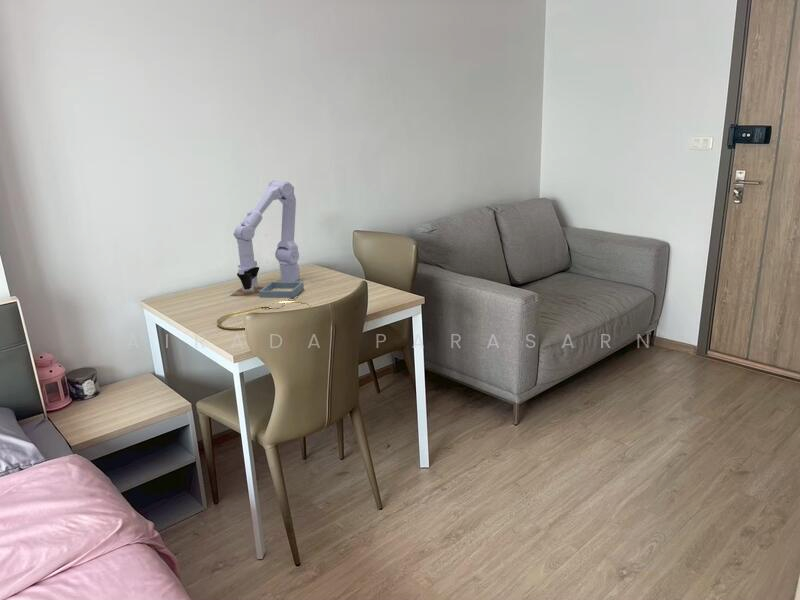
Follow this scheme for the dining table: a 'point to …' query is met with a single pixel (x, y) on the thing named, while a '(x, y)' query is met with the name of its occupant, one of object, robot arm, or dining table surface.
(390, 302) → the dining table surface
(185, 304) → the dining table surface
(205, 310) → the dining table surface
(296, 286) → the bin
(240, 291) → the stud base
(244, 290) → the metal block
